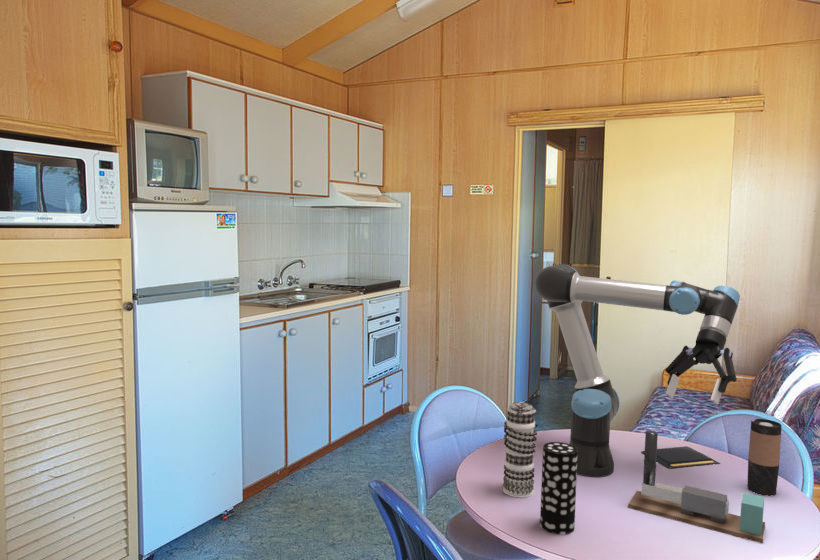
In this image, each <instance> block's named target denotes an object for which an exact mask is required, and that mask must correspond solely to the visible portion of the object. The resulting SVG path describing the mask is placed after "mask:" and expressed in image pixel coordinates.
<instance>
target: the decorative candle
mask: <svg viewBox="0 0 820 560" xmlns="http://www.w3.org/2000/svg"><path fill="white" fill-rule="evenodd" d="M506 411H507V414H506V417H507V418H506V420H505V421H504V423H503V432H504V433H505V434H504V438H503V439H504V441H503V444H504V446H505V447H504V452H506V453H505V460H504V461H505V462H504V463H505V464H504V465H503V469H504V470H503V475H504V476H503V479H502V480H503V482H502V483H503V485H502V486H503V488H502V489H503V493H505V495H507V496H510V497H512V498H513V497H514V498H520V499H524V498H529V497H532V496H533V495H534V490H535V488H534V487H535V486H534V484H535V480H534V478H535V468H534V463H535V462H534V455H535V453H536V449H535V448H536V447H537V444H536V443H534V442H536V441H537V437H536V436H537V435H538V432H537V431H536V430H534V429H536V428H538V424H536V421H535V418H536V417H535V413H537V410H536V409H535V408H534V407H533V405H532V404H531V403H528V402H524V401H515V402H512V403H511V404H510V406H507V407H506Z"/></svg>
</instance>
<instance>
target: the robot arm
mask: <svg viewBox="0 0 820 560" xmlns="http://www.w3.org/2000/svg"><path fill="white" fill-rule="evenodd" d="M534 287H535V291H536V293H537V295H538V296H539V297H540V298H542V299H543V300H545V301H547V304H548V308H549V310H551V311H553V312H554V313H555V314H556V318H557V321H558V325H559V327H560V331H561V333H562V337H563V340H564V343H565V346H566V350H567V351H568V355H569V359H570V362H571V365H572V367H573V372H574V374H575V378H576V380H577V381H576V383H575V385H574V389H575V392H574V393H573V394H572V398H571V402H570V407H571V412H570V435H569V437H570V438H569V442H568V444H571V445H573V446H575V447H576V448H577V449H578V458H577V475H580V476H584V477H585V476H587V477H596V478H597V477H607V476H610V475H612V474H613V473H614V471H615V461H614V456H613V455H612V451H611V447H610V435H611V432H610V431H611V422H612V420H613V419H614V417H616V415H617V414H618V412H619V409H620V397H619V394H618V392H617V391H616V389H614V388H613V385H612V383H611V379H610V377H608V376H607V375H605V374H604V372H603V369H602V367H601V363H600V361H599V358H598V355H597V354H598V353H597V351H596V348H595V345H594V341H593V339H592V336H591V332H590V329H589V326H588V323H587V320H586V317H585V314H584V311H583V310H584V309H583V308H582V303H583V302H589V303H590V302H591V303H598V304H606V305H612V306H613V305H614V306H622V307H625V306H626V307H631V308H641V309H648V310H657V311H665V312H670V313H676V314H678V315H681V316H682V315H683V316H684V315H686V316H688V315H690V314H692V313H694V312H695V313H699V314H702V315H704V317H703V319H702V321H701V325H700V327H699V331H698V332H697V336H696V338H695V345H694V346H693V347H689V346H688V345H684V346H683V348H682V350H681V352H680V353H679V354H677V356H676V357H675V358H674V360H673V361H671V363H670V364H669V365H668V366H667V367H666V368H665V369H664V372H666V373H667V374H668V375H669V377H668V380H667V385H668V386H667V389H666V391H665V395H667V396H668V398H670V399H674V397H675V394H676V391H677V388H678V385H679V383H680V376H681V375H683V374H684V373H686V372H687V371H688V370H690V369H691V368H693V366H696V365H698V364H700V365H701V364H702V365H703V364H707V365H711V364H712V365H713V367H714V369H715V370H716V372H717V374H718V376H719V378H717V379H716V380H715V381H716V382H715V384H714V388H713V390H712V394H711V397H710V400H709V401H711V402H712V403H713V404H715V405H719V403H720V400H721V397H722V394H724V393H725V392H726V390H727V386H728V385H729V383H731V382H733V383H735V382H737V375H736V371H735V367H734V362H733V354H734V353H733V352H732V350H731V349H730V348H729V347H725V346H726V344H727V343H726V342H727V338H728V337H729V334H730V331H731V327H732V324H733V321H734V319H735V315H736V312H737V310H738V307H739V303H740V302H739V301H740V299H741V295H740V292H739V291H738V290H737V289H735V288H733V287H732V286H729V285H717V286H715V287H714V288H713V289H708V288H707V289H706V288H703V287H699V286H698V285H693V284H690V283H687V282H685V281H680V280H676V279H674V280H671V282H670V284H669V285H667V284H658V283H648V282H639V281H631V280H630V281H629V280H622V279H613V278H612V279H611V278H610V279H609V278H602V277H592V276H583V275H582V276H581V275H580V273H579V272H578V271H577V270H576V269H575V268H574V267H572V266H570V265H568V264H554V265H550V266H547V267H544V268H542V269H541V270H540V271H538V273H537V274H536V277H535V279H534ZM722 356H723V360H724V366H725V369H726V372H725V371H724V368H723V366H722V365H721V362H720V361H719V358H721V357H722Z"/></svg>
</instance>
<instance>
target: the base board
mask: <svg viewBox="0 0 820 560" xmlns="http://www.w3.org/2000/svg"><path fill="white" fill-rule="evenodd" d="M641 491H642V490H641ZM641 491H640V490H636V491H635V492H634V495H633V496H632V497H631V499H630V500H629V502H628V503H627V508H629V509H632V510H637V511H641V512H644V513H647V514H651V515H655V516H658V517H663V518H666V519H670V520H673V521H678V522H681V523H685V524H688V525H693V526H695V527H696V526H697V527H700V528H704V529H708V530H712V531H716V532H719V533H724V534H728V535H731V536H735V537H739V538H741V539H746V540H750V541H753V542H757V543H761V544H763V541H764V535H765V529H766V522H765V521H763V524H762V531H761V536H760V535H756V534H752V533H748V532H744V531H740V516H741V515H737V514H732V513H730V512H728V514H727V516H726V519H725V522H724V524H720V523H716V522H712V521H711V516H708V515H704V514H700V513H696V512H695V513H694V516H689V515H685V514H681V504H678V503H674V502H670V501H666V500H662V499H658V498H654V497H650V496H646V495H642V494H641Z"/></svg>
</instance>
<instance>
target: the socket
mask: <svg viewBox="0 0 820 560" xmlns="http://www.w3.org/2000/svg"><path fill="white" fill-rule="evenodd" d="M764 507H765V496H763V495H758V494H754V493H753V494H752V493H747V492H743V494H742V499H741V504H740V515H739V516H740V531H744V532H748V533H752V534H756V535H760V536H761V531H762V524H763V522H764V520H763V519H764V510H765V509H764Z"/></svg>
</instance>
